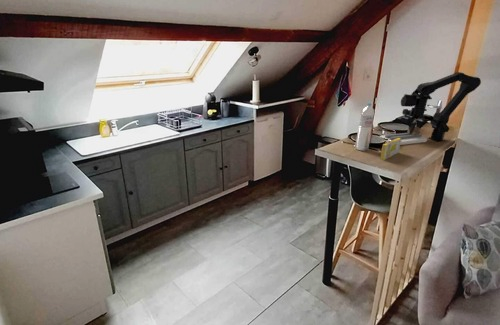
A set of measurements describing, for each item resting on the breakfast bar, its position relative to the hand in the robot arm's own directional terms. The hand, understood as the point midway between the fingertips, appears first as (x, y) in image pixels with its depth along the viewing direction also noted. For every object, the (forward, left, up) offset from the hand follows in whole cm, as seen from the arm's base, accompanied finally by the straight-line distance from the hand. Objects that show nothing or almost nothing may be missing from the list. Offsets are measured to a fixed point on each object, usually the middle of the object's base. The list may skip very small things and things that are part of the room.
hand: (413, 132), depth 174 cm
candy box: (+32, +18, -5) cm, 37 cm away
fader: (0, 0, -2) cm, 2 cm away
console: (+7, 0, -4) cm, 8 cm away
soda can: (+32, -3, -4) cm, 32 cm away
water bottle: (+40, +5, -4) cm, 41 cm away
